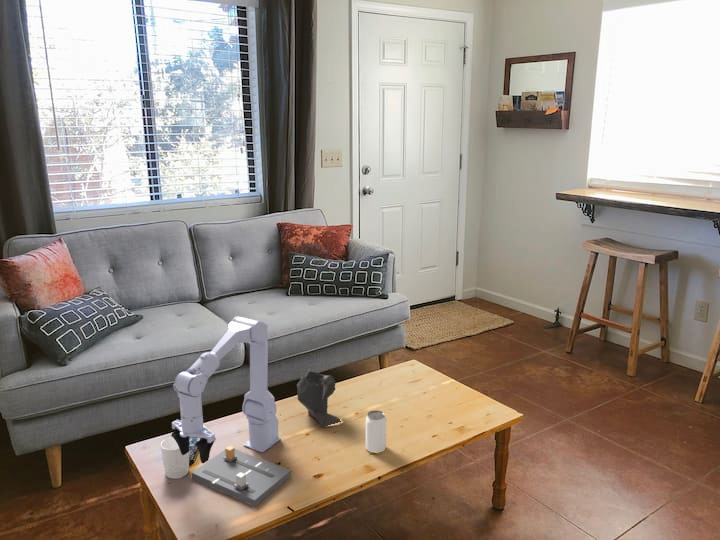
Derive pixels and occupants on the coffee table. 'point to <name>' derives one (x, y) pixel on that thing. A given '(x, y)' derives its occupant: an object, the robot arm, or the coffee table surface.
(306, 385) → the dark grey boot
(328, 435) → the coffee table surface
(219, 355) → the robot arm
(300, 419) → the coffee table surface
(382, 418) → the can
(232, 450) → the fader tab orange
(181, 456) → the white cup
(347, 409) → the coffee table surface
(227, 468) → the console board
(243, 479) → the fader tab grey
